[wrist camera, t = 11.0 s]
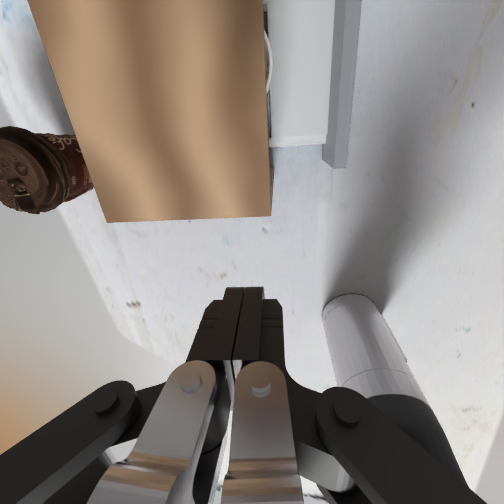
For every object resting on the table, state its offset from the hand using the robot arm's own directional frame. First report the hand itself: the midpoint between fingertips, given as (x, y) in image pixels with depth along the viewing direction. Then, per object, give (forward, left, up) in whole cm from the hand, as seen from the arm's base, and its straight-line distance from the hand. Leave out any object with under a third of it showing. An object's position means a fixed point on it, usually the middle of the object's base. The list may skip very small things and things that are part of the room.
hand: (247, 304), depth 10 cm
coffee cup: (+22, +9, -27) cm, 36 cm away
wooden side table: (+10, -7, -27) cm, 29 cm away
